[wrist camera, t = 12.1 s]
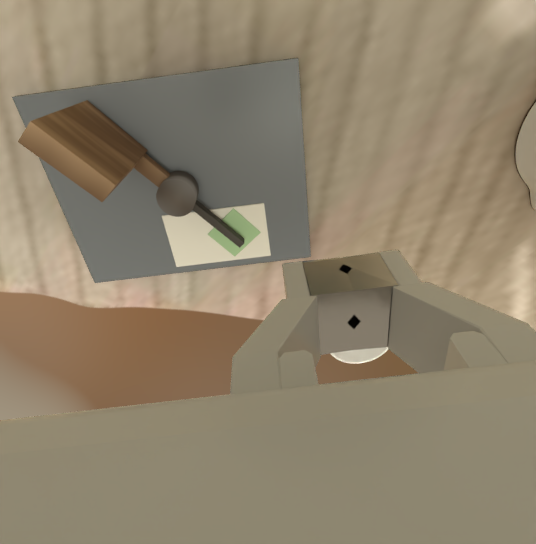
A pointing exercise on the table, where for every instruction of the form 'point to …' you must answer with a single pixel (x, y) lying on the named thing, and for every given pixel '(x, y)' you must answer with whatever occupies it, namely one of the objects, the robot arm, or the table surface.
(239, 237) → the lever
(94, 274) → the tuner board
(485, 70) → the table surface
